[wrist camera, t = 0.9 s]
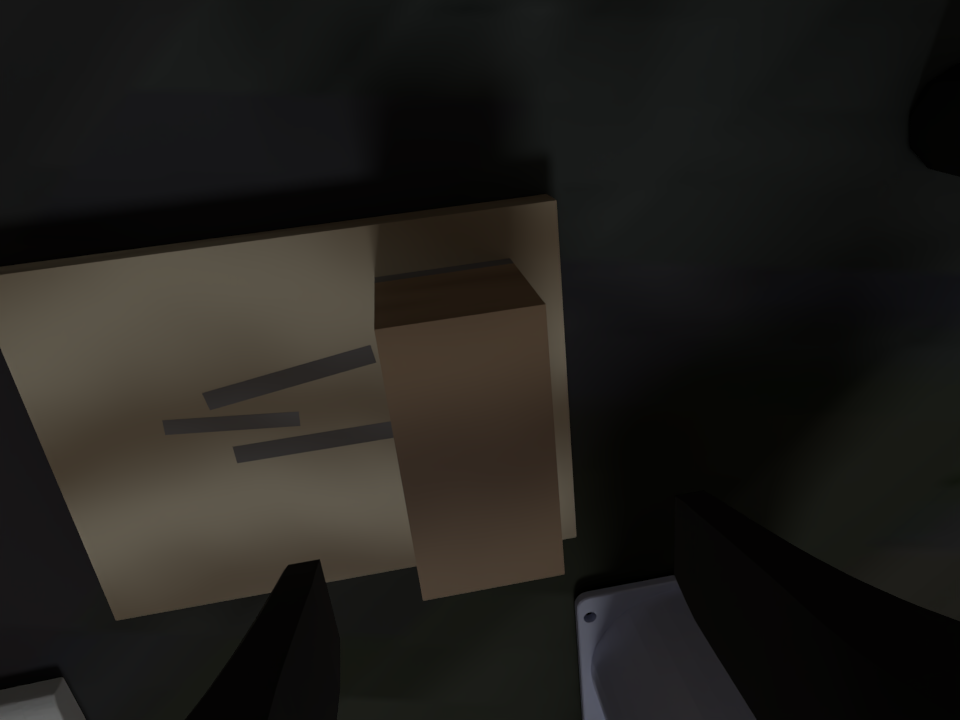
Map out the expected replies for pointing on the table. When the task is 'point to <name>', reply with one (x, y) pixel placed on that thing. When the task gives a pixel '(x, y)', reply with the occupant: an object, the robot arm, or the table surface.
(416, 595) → the table surface
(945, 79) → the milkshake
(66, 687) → the external hard drive
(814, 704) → the robot arm
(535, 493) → the block
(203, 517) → the board
